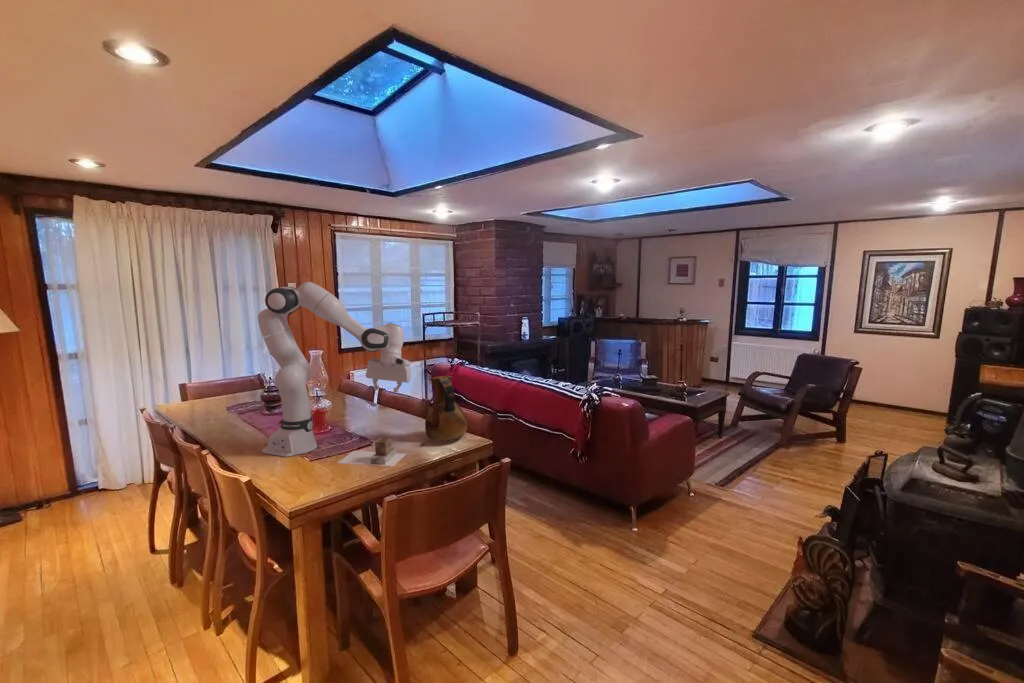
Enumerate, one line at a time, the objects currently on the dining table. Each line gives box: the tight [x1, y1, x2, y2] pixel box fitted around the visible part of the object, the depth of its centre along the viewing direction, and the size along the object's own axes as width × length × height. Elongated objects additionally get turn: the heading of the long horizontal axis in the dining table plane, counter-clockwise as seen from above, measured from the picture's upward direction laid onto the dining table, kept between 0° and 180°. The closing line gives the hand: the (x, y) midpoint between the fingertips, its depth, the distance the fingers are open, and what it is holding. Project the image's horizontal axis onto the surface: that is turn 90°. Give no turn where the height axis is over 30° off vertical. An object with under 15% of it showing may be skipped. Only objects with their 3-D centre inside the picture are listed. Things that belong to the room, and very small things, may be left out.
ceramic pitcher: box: [424, 375, 468, 441], centre depth 207 cm, size 20×20×30 cm
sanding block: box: [370, 437, 397, 465], centre depth 180 cm, size 6×11×8 cm, turn 171°
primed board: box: [337, 450, 407, 467], centre depth 182 cm, size 24×13×2 cm, turn 81°
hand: (385, 390), depth 196 cm, fingers open, 8 cm apart
